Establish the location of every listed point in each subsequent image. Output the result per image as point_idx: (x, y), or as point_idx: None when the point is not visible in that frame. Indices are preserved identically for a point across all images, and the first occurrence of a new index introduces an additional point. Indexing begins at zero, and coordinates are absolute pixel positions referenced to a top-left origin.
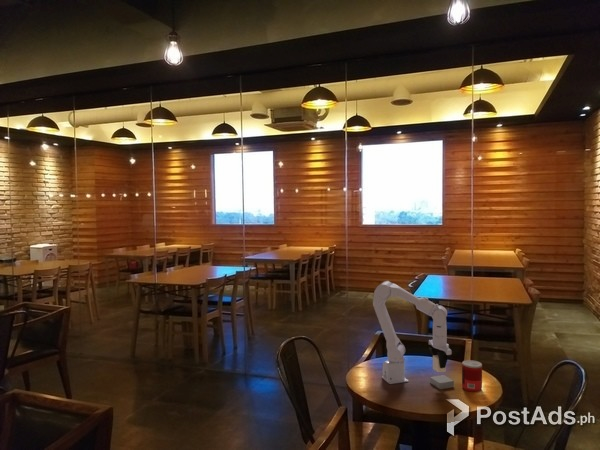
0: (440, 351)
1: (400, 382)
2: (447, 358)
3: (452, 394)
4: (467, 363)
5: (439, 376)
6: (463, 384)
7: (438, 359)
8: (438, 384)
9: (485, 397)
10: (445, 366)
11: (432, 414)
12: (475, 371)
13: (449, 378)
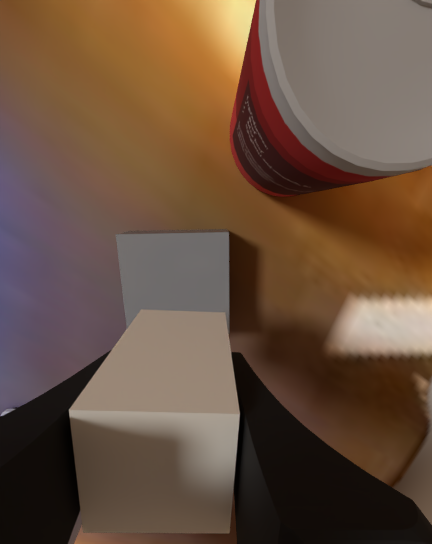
0: (15, 475)
1: None
2: (306, 439)
3: (302, 294)
4: (357, 64)
5: (134, 277)
6: (285, 195)
7: (229, 511)
8: None
9: None
10: (242, 356)
11: (408, 466)
12: None
13: (184, 234)
